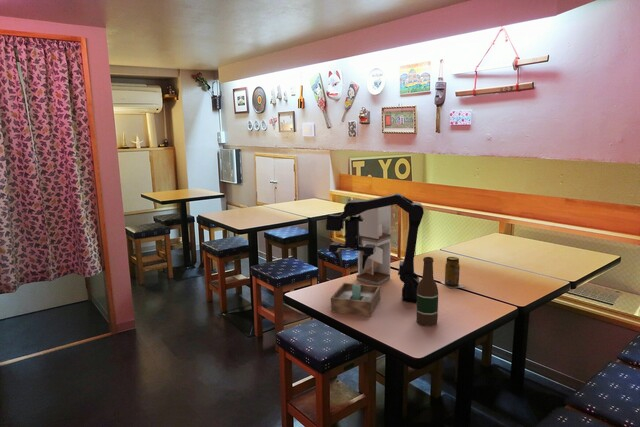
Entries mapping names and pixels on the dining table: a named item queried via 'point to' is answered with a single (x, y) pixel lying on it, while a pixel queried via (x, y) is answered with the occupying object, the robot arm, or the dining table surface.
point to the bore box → (359, 307)
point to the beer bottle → (427, 296)
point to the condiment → (452, 273)
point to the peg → (356, 292)
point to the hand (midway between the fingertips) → (352, 268)
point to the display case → (379, 234)
